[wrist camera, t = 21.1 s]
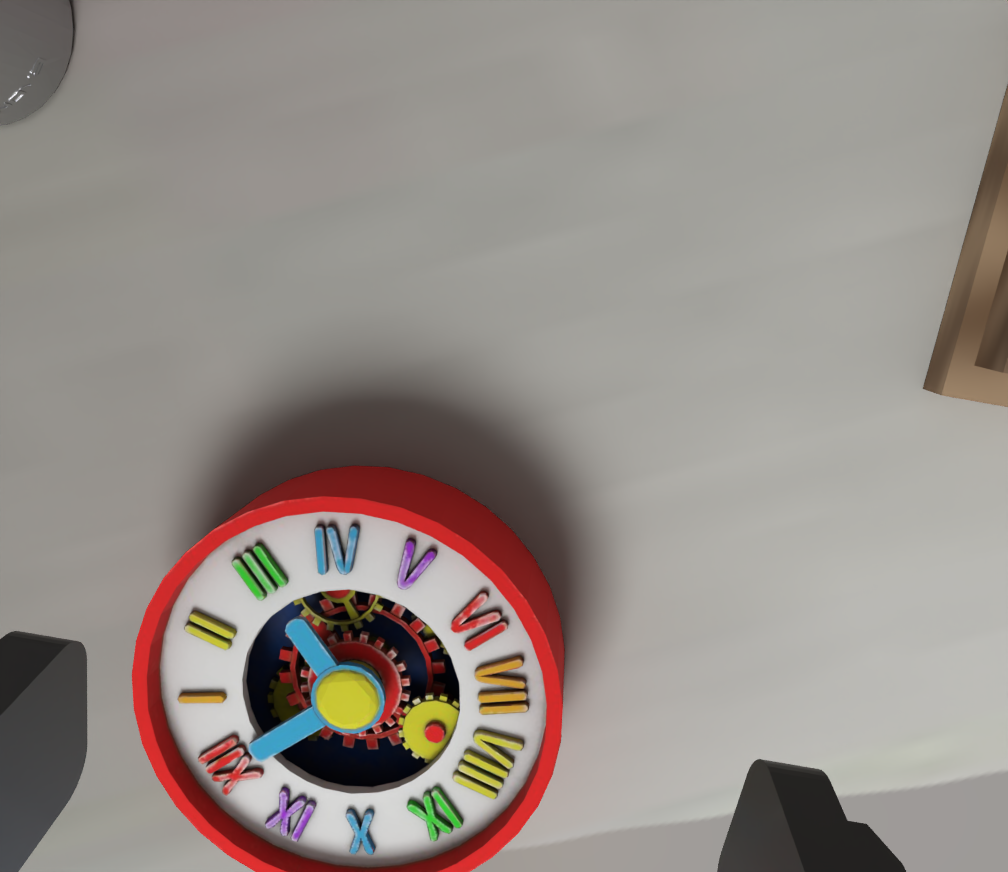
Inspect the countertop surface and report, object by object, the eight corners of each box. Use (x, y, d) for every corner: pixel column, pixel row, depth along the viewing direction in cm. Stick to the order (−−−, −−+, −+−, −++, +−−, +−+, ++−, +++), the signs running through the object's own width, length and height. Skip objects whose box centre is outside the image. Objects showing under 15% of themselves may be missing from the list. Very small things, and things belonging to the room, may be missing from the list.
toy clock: (648, 779, 38) (296, 963, 41) (638, 711, 43) (330, 878, 47) (397, 408, 35) (46, 638, 39) (421, 388, 41) (114, 590, 44)
